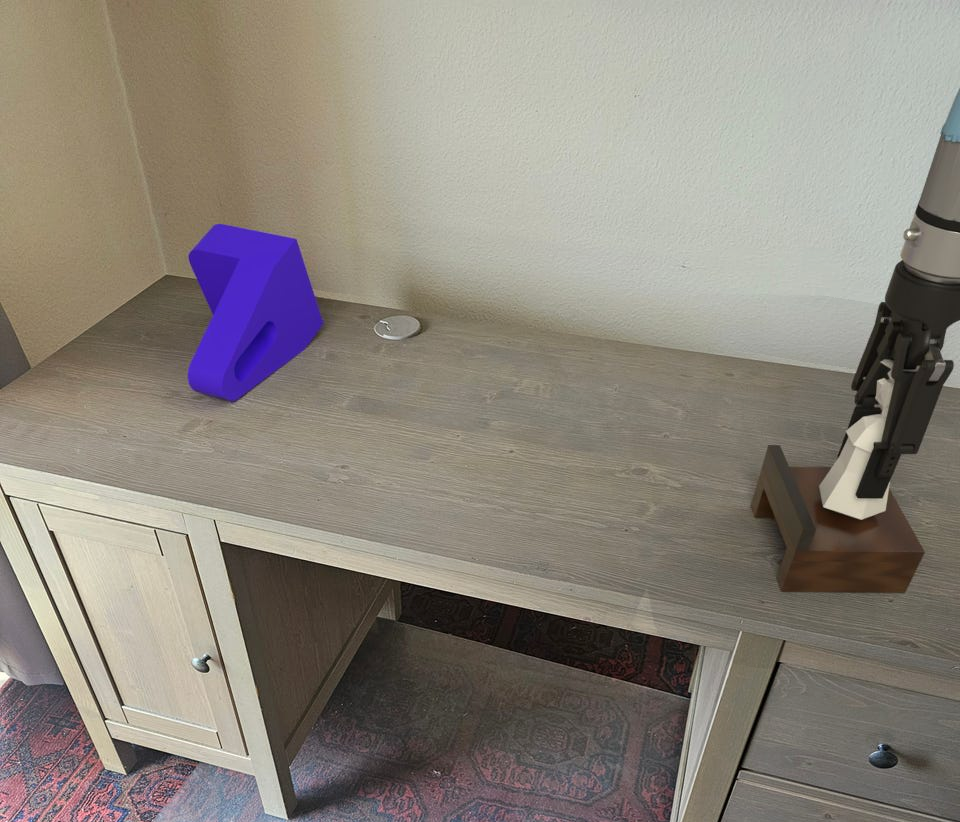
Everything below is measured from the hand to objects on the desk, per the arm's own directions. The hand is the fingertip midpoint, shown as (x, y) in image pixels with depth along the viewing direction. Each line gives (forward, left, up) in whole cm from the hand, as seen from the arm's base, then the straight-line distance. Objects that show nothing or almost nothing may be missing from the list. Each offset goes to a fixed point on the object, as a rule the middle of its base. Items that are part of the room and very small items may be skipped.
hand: (859, 477), depth 95 cm
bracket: (+80, -46, -12) cm, 93 cm away
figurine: (0, 0, -3) cm, 3 cm away
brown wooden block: (+1, 0, -10) cm, 10 cm away
